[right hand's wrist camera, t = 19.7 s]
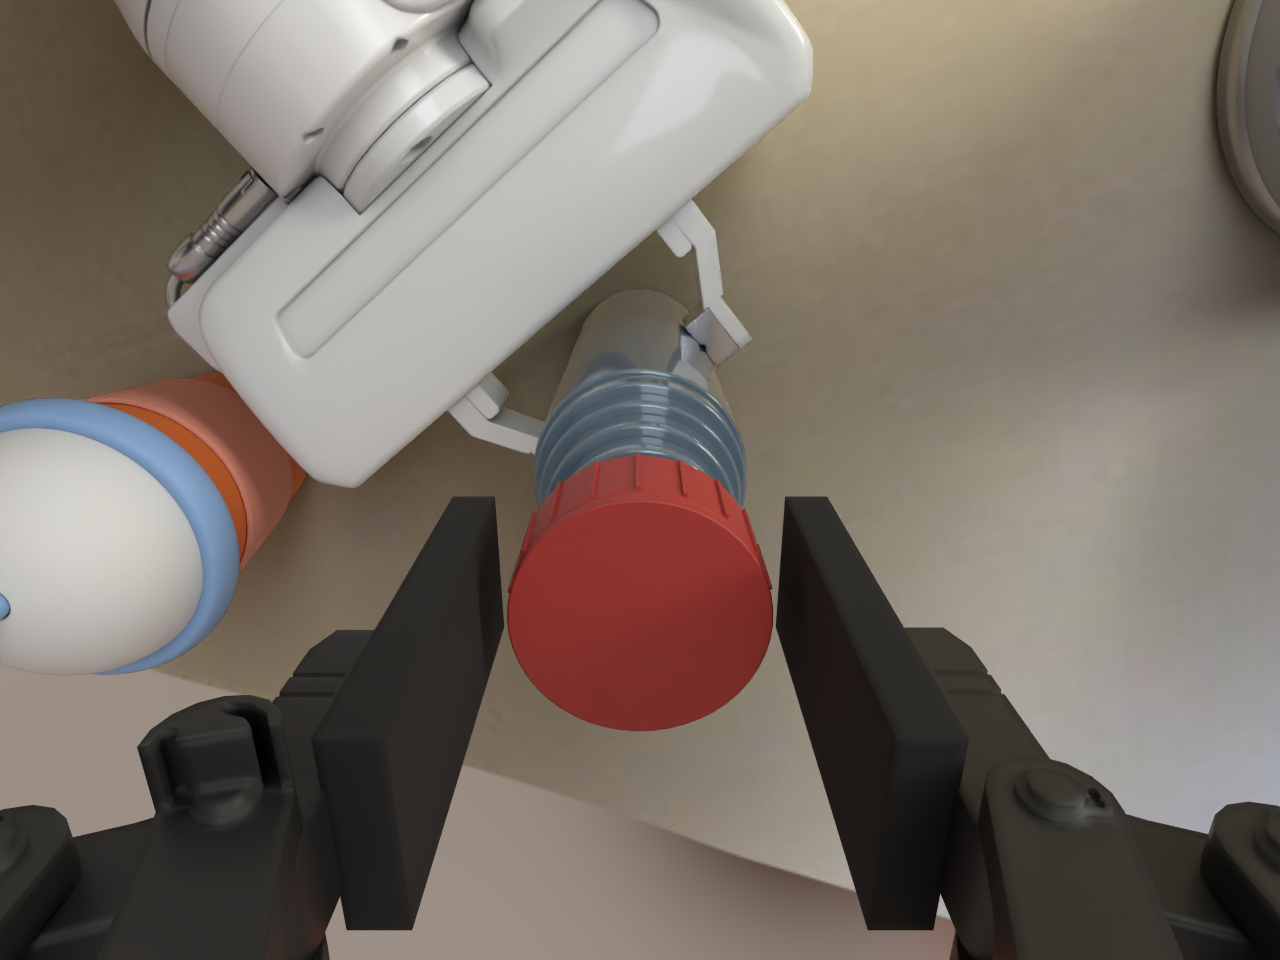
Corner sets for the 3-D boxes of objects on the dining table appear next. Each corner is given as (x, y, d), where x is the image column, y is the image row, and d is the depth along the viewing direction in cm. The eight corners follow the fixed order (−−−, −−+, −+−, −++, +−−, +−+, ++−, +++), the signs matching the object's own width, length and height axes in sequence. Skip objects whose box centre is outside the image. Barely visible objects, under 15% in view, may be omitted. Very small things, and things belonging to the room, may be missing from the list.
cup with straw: (153, 534, 35) (-297, 863, 18) (110, 330, 32) (-488, 503, 15) (357, 540, 35) (96, 873, 18) (335, 338, 32) (-6, 518, 15)
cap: (732, 675, 15) (746, 748, 13) (510, 645, 15) (490, 715, 13) (781, 472, 14) (806, 521, 12) (535, 434, 14) (517, 478, 12)
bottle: (717, 305, 31) (834, 498, 13) (684, 425, 33) (743, 751, 14) (592, 274, 31) (516, 425, 12) (565, 397, 33) (464, 695, 14)
